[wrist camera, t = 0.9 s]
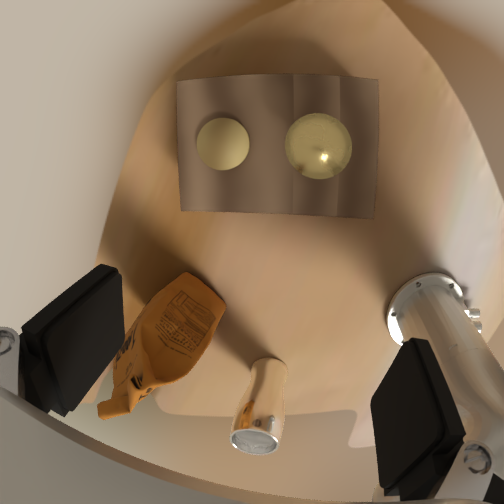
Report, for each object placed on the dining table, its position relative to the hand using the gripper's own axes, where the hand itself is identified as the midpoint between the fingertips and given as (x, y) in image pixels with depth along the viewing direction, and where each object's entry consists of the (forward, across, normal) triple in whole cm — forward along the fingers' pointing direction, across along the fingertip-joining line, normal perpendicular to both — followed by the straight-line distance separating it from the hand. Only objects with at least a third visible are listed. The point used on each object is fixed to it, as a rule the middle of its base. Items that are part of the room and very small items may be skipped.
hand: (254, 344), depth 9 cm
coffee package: (+31, +12, +22) cm, 39 cm away
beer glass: (+31, -3, +30) cm, 43 cm away
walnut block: (+31, +2, -5) cm, 31 cm away
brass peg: (+24, -1, -6) cm, 25 cm away
